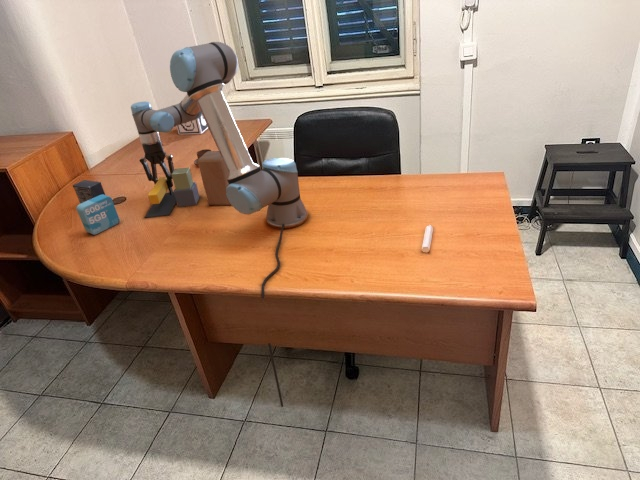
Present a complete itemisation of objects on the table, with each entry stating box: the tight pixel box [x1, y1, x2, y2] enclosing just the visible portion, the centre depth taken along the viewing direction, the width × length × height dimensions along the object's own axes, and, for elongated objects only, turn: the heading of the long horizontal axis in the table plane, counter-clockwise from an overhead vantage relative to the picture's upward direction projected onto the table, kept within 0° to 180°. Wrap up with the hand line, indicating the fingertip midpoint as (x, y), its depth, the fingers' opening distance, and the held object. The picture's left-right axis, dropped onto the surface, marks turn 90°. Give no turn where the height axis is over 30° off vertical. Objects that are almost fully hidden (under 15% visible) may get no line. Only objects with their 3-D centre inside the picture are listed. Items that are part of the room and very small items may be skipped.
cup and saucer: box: [193, 148, 212, 167], centre depth 220 cm, size 12×12×6 cm
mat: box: [144, 191, 177, 219], centre depth 185 cm, size 22×10×1 cm, turn 3°
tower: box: [171, 167, 200, 208], centre depth 181 cm, size 8×8×14 cm
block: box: [197, 150, 231, 206], centre depth 178 cm, size 10×10×20 cm
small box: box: [72, 179, 106, 204], centre depth 187 cm, size 11×6×10 cm, turn 65°
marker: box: [421, 224, 434, 254], centre depth 143 cm, size 3×2×16 cm
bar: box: [147, 176, 169, 205], centre depth 181 cm, size 18×4×4 cm, turn 3°
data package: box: [75, 194, 120, 236], centre depth 168 cm, size 12×4×12 cm, turn 144°
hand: (166, 194), depth 190 cm, fingers closed on bar, 3 cm apart
